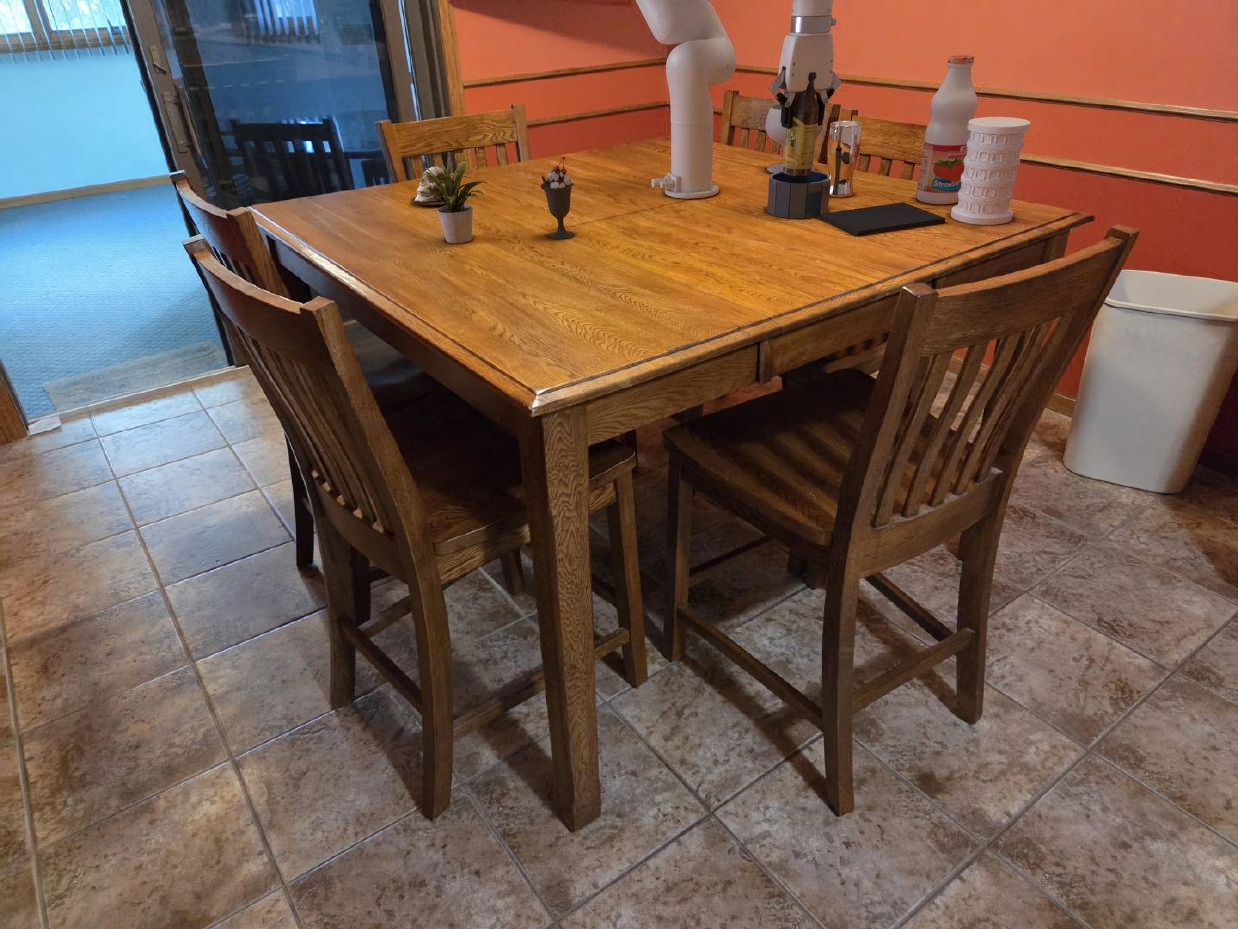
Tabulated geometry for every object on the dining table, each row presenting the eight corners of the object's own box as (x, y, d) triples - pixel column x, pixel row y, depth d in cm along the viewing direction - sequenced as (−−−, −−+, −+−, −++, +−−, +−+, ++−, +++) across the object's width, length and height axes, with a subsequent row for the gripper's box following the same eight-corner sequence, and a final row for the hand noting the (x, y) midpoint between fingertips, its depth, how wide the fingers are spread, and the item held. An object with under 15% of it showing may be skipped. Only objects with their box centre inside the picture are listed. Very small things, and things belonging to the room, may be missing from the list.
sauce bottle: (778, 171, 173) (786, 68, 162) (807, 169, 173) (817, 67, 163) (786, 178, 168) (795, 72, 157) (816, 177, 168) (827, 71, 157)
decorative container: (940, 218, 164) (956, 123, 155) (964, 206, 171) (981, 114, 162) (998, 228, 157) (1018, 129, 148) (1021, 214, 164) (1041, 119, 155)
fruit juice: (940, 192, 182) (963, 52, 167) (970, 201, 175) (997, 56, 160) (906, 197, 179) (926, 56, 164) (935, 207, 172) (960, 60, 157)
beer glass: (852, 189, 187) (859, 119, 179) (856, 197, 181) (864, 125, 173) (821, 190, 188) (827, 120, 180) (825, 198, 182) (831, 126, 174)
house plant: (430, 256, 157) (415, 168, 149) (410, 238, 168) (396, 156, 159) (499, 243, 163) (489, 157, 154) (476, 227, 173) (465, 146, 164)
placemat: (856, 236, 157) (857, 230, 156) (819, 218, 168) (819, 213, 168) (944, 223, 162) (945, 218, 161) (902, 206, 173) (903, 201, 173)
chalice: (824, 175, 200) (830, 109, 192) (767, 177, 200) (770, 112, 192) (813, 163, 212) (818, 101, 204) (759, 165, 212) (762, 103, 204)
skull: (429, 206, 185) (407, 168, 186) (418, 230, 194) (396, 193, 194) (473, 194, 192) (451, 157, 192) (460, 218, 201) (439, 182, 201)
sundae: (582, 231, 167) (577, 155, 159) (570, 241, 162) (564, 162, 154) (553, 229, 169) (546, 154, 161) (540, 239, 164) (533, 161, 156)
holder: (785, 221, 167) (787, 186, 164) (757, 207, 178) (759, 174, 174) (838, 213, 170) (842, 179, 167) (808, 200, 181) (811, 167, 177)
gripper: (839, 22, 161) (829, 119, 171) (760, 27, 157) (754, 126, 166) (860, 24, 155) (848, 125, 165) (779, 30, 150) (771, 133, 160)
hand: (801, 125), depth 165 cm, fingers closed on sauce bottle, 6 cm apart
